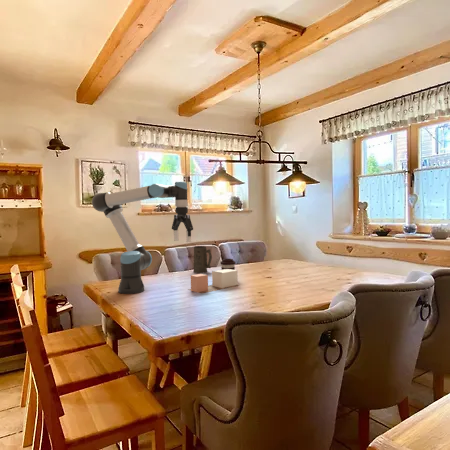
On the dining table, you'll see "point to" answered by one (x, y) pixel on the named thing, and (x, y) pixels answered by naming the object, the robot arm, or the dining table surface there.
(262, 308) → the dining table surface
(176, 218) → the robot arm
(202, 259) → the beer stein
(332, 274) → the dining table surface
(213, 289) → the board
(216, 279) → the cream white block
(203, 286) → the stub
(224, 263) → the coffee cup
